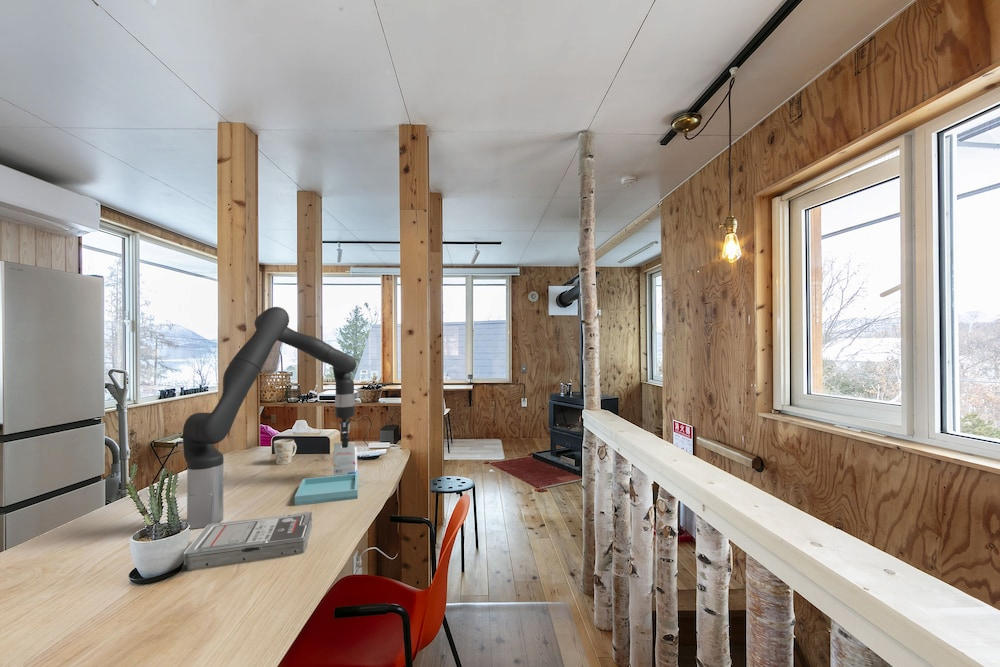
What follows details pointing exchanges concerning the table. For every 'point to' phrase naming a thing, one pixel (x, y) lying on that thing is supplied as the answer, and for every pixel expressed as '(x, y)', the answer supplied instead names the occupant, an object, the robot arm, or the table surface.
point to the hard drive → (249, 541)
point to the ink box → (345, 459)
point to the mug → (284, 451)
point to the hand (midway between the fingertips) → (345, 445)
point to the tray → (327, 489)
